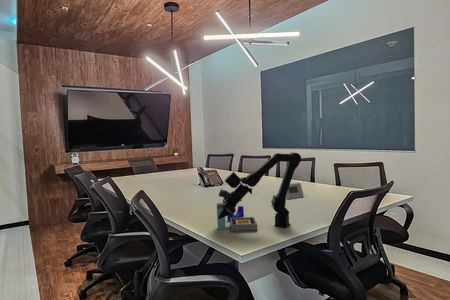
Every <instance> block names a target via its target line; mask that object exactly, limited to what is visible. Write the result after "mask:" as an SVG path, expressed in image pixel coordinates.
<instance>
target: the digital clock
mask: <svg viewBox="0 0 450 300" xmlns="http://www.w3.org/2000/svg"><path fill="white" fill-rule="evenodd" d="M304 196H305V194H304V191H303V188H302V184H301V182H293V183H290V185H289V188H288V191H287V194H286V200H294V199H300V198H303V197H304Z"/></svg>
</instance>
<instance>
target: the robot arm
mask: <svg viewBox="0 0 450 300" xmlns="http://www.w3.org/2000/svg"><path fill="white" fill-rule="evenodd" d="M301 161H302V156H301V154H300V153H298V152H294V151H293V152H290V153H280V152H276V153H274V154H273V156H272V157H270V158H269V159H268V160H267V161H266V162H264V163H263V165H261V166H260V167H259V168H258V169H256V170H255V171H252V172H251V173H249V174H248V175H246V177H244V176H243V177H239V176H238V175H237V174H236V172H234V171H232V173H230V174H229V175H228V176H226V178H225V179H224V182H225V184H227V185H228V186H229V187H230V188H231V189H233V188H234V191H231V192H230V191H227V190H225V189H223V188H221V189H220V190H219V193H218V197H221V198H223V199H222V203H224V205H223V210H222V212H221V213H220V215H219V216H218V219H221V218H223V217H225V218H226V217H227V216H228V215H231V214H234V215H235V214H236V213H237V210H236V209H237V208H236V207H237V205H238V204H239V203H240V202H242V199H244V197H245V196H246V195H247V194H248V193H250V194H251V195H252V194H253V188H255V186H257V184H258V183H259V182H260V181H261V179H262V178H263V176H264V175H265V174H266V173H268V172H269V171H270V170H271V169H272V168H274V167H275V166H276V165H277V164H278V163H279V162H286V165H285V166H286V168H285V170H284V171H285V172H284V175H283V177H282V180H281V183H280V186H279V189H278V191H277V194H276V195H274V194H273V196H272V199H271V201H270V203H271V208H272V209H273V210H274V211H275V212H276V213H275V216H274V227H278V228H283V229H285V228H288V227H289V226H292V225H291V223H290V211H289V210H288V209H287V208H286V203H287V202H286V200H287V199H286V194H287V191H288V188H289V185H290V184H291V182H292V179H293V176H294V173H295V171H296V169H297V168H298V166H299V165H300V163H301Z"/></svg>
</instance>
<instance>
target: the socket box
mask: <svg viewBox="0 0 450 300" xmlns="http://www.w3.org/2000/svg"><path fill="white" fill-rule="evenodd" d="M229 223H230V230H231V233H238V232H239V233H241V232H258V223H257V221H256V218H255V217H254V216H248V217H247V216H245V217H244V216H243V217H240V218H230V222H229Z"/></svg>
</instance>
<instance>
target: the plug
mask: <svg viewBox="0 0 450 300" xmlns="http://www.w3.org/2000/svg"><path fill="white" fill-rule="evenodd" d="M223 205H224V203H223V202H217V203H216V216H217V217H216V219H217V221H216V222H217V230H218V231H220V230H226V217H223V218H221V219H218V216H219V215H220V213H221V212H222V210H223Z"/></svg>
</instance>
